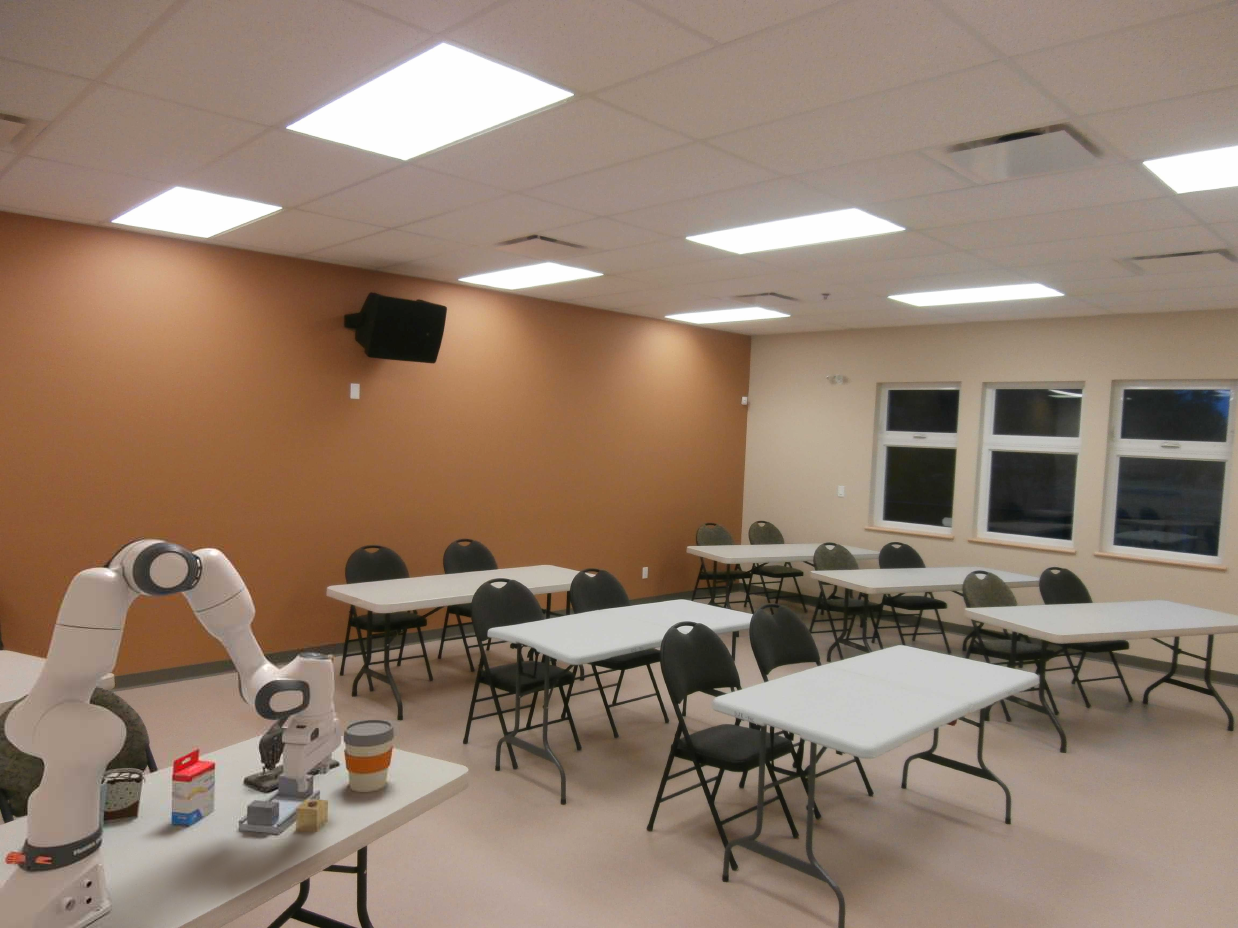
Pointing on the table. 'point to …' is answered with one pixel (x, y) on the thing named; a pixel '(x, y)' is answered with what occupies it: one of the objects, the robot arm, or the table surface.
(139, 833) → the table surface
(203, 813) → the ink box
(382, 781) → the reusable coffee cup
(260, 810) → the block
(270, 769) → the embossing press
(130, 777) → the food container
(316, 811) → the housing
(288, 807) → the press bed
